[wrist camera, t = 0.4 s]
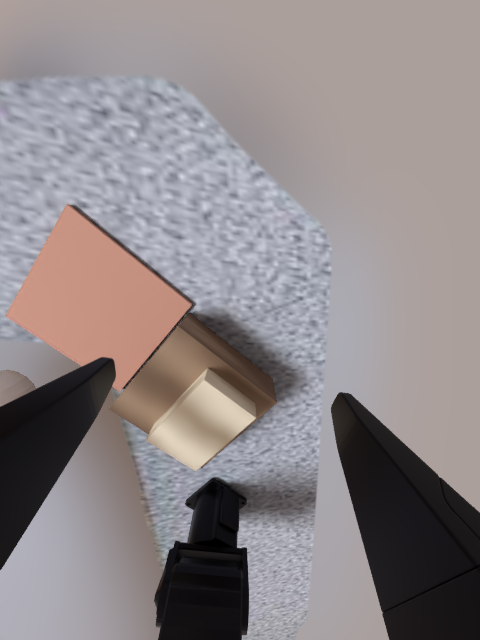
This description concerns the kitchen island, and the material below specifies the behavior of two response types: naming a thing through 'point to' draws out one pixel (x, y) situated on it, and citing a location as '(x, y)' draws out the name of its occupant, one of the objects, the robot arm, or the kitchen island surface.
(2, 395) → the shot glass
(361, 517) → the robot arm
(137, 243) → the kitchen island surface
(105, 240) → the mat
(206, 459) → the cream rectangular block
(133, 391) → the panel
